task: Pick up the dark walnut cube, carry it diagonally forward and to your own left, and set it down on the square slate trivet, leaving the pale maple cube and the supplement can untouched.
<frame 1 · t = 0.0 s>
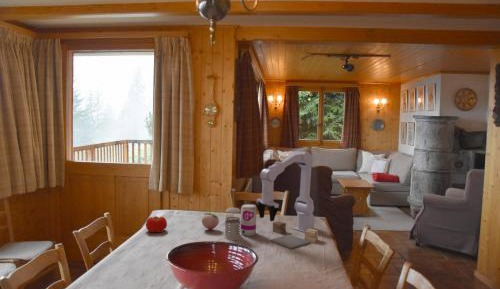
hand: (266, 219, 189), 10 cm above the table, fingers open, 7 cm apart
supplement can: (248, 234, 198), on the table
maple cube: (311, 240, 190), on the table
decorative fruit: (209, 230, 203), on the table
french press: (231, 237, 191), on the table
slate trivet: (290, 242, 185), on the table
tomato: (156, 231, 199), on the table
walnut cube: (279, 231, 203), on the table
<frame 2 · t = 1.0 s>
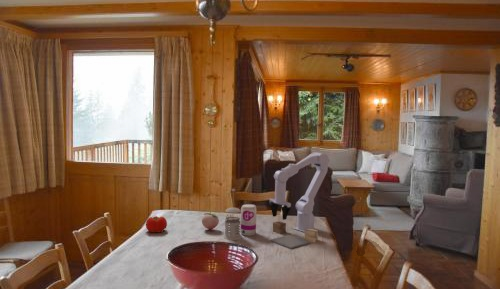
hand: (279, 217, 202), 8 cm above the table, fingers open, 7 cm apart
nothing on the table moved.
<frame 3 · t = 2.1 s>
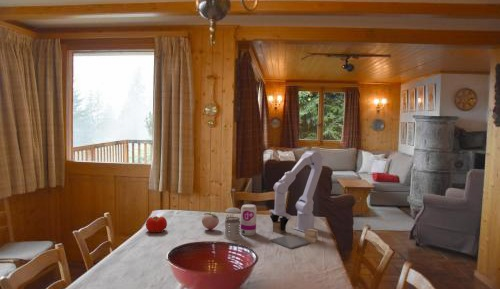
hand: (279, 229, 203), 1 cm above the table, fingers closed on walnut cube, 5 cm apart
walnut cube: (279, 231, 203), on the table, touching gripper
everything else where it was.
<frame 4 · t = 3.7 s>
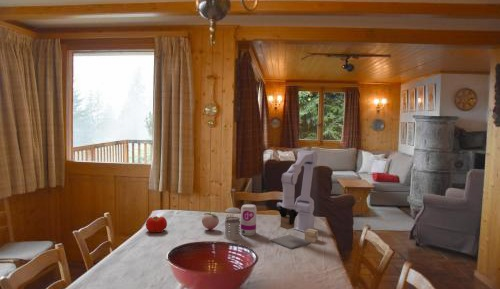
hand: (287, 223, 189), 9 cm above the table, fingers closed on walnut cube, 5 cm apart
walnut cube: (287, 227, 189), point 6 cm above the table, touching gripper
everything else where it was.
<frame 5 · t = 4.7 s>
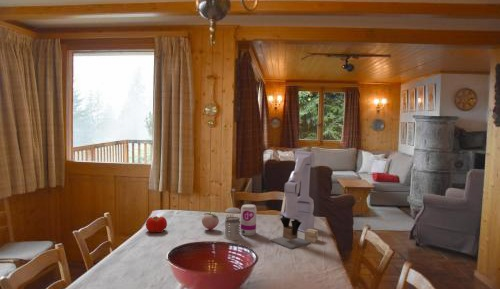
hand: (290, 233, 185), 5 cm above the table, fingers closed on walnut cube, 5 cm apart
walnut cube: (290, 237, 185), point 2 cm above the table, touching gripper
everything else where it was.
when the fingers open (3 cm above the table, at t = 5.5 s): walnut cube stays where it is, resting on slate trivet.
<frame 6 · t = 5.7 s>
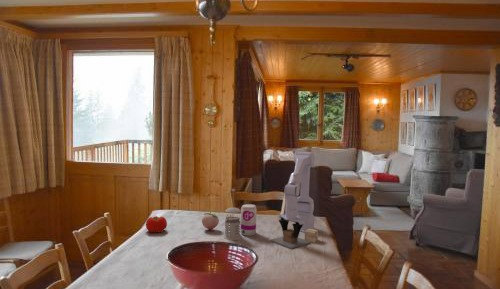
hand: (290, 235, 185), 3 cm above the table, fingers open, 7 cm apart
walnut cube: (290, 240, 185), point 1 cm above the table, touching slate trivet
everything else where it was.
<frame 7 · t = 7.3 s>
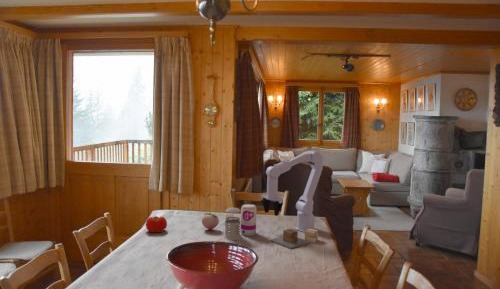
hand: (271, 214, 201), 10 cm above the table, fingers open, 7 cm apart
nothing on the table moved.
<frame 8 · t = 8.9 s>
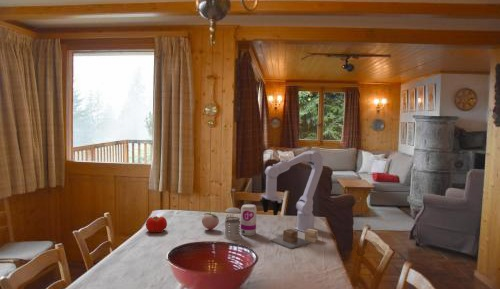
hand: (270, 213, 202), 10 cm above the table, fingers open, 7 cm apart
nothing on the table moved.
at the end: walnut cube inside the target area on the slate trivet (0.1 cm from its centre), point 0.8 cm above the slate trivet's base; walnut cube tilted 0°; the gripper is holding nothing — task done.
